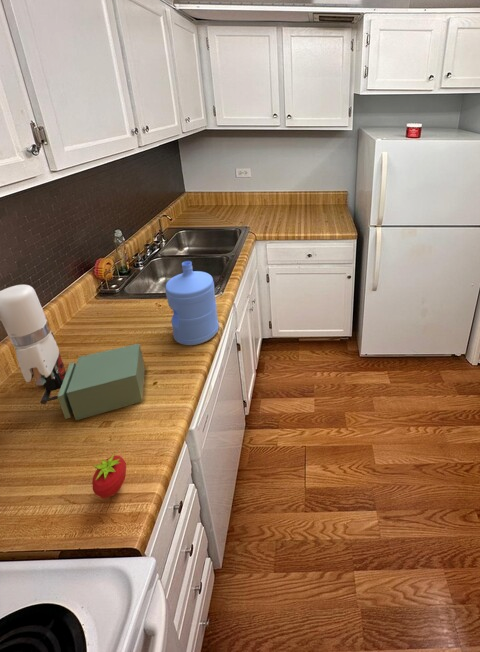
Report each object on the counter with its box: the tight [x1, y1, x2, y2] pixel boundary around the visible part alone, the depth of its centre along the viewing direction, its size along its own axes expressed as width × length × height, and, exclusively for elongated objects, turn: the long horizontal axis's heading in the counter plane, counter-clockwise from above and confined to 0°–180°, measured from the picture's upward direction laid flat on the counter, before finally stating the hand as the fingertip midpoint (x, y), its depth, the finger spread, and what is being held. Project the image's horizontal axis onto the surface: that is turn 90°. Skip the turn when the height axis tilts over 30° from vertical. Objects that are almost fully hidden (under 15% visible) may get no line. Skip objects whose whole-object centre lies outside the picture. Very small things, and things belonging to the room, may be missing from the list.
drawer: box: [39, 361, 77, 420], centre depth 92 cm, size 19×12×8 cm, turn 113°
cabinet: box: [67, 342, 146, 421], centre depth 93 cm, size 16×14×10 cm
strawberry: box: [91, 453, 127, 499], centre depth 69 cm, size 6×8×10 cm
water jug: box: [165, 260, 220, 346], centre depth 115 cm, size 16×16×28 cm
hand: (55, 387), depth 88 cm, fingers closed
